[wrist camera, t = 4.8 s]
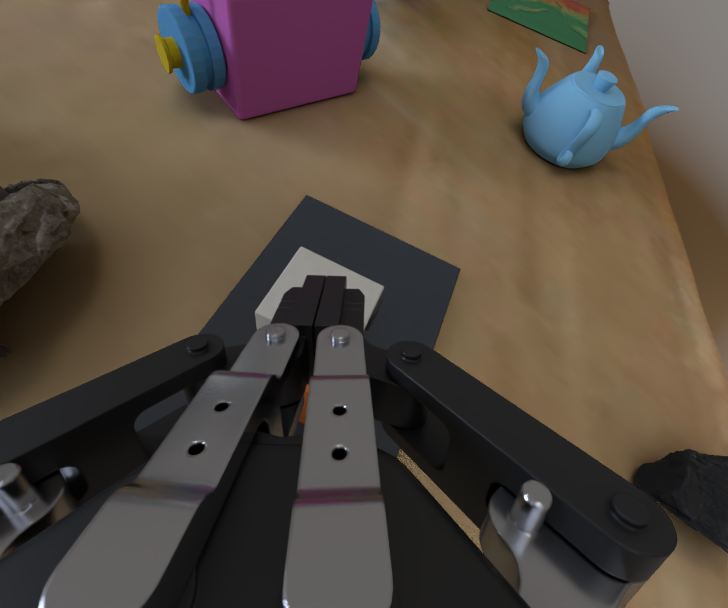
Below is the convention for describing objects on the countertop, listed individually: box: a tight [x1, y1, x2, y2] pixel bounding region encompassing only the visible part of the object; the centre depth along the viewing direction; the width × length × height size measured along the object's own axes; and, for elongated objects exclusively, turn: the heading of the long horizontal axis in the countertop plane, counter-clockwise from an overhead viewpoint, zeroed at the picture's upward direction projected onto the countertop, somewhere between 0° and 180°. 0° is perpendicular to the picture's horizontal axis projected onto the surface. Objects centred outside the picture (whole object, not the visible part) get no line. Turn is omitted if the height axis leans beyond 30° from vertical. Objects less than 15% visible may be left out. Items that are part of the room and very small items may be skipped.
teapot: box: [522, 45, 679, 168], centre depth 49 cm, size 15×15×10 cm
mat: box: [134, 195, 460, 458], centre depth 30 cm, size 26×18×1 cm
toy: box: [155, 0, 380, 119], centre depth 39 cm, size 28×9×15 cm, turn 129°
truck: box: [255, 247, 384, 424], centre depth 22 cm, size 7×5×13 cm
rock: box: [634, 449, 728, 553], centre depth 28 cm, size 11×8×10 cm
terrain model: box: [487, 0, 590, 53], centre depth 79 cm, size 25×22×1 cm
